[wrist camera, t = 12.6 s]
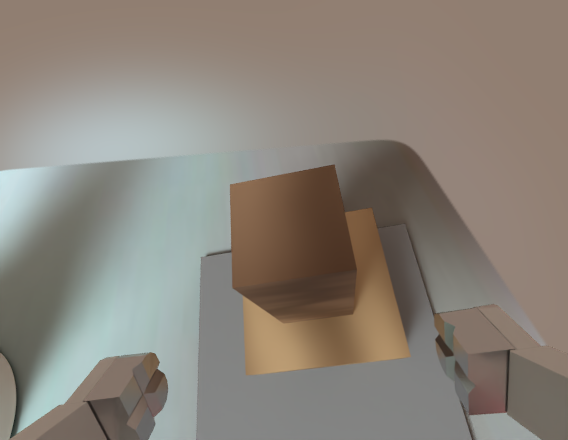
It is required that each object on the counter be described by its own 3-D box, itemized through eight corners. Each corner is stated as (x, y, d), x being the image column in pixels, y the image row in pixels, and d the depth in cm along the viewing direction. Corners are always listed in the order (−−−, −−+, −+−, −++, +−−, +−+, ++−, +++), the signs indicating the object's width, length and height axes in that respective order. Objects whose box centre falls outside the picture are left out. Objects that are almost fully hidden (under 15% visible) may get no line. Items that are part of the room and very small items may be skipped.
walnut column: (283, 323, 20) (232, 287, 11) (277, 258, 22) (230, 184, 13) (353, 314, 19) (356, 269, 11) (340, 248, 21) (334, 164, 13)
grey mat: (197, 560, 19) (193, 565, 19) (203, 259, 28) (201, 257, 28) (502, 549, 17) (507, 555, 16) (403, 226, 26) (405, 223, 25)
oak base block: (261, 374, 23) (245, 375, 19) (254, 248, 27) (240, 230, 24) (400, 358, 21) (411, 356, 18) (368, 229, 26) (371, 207, 22)
